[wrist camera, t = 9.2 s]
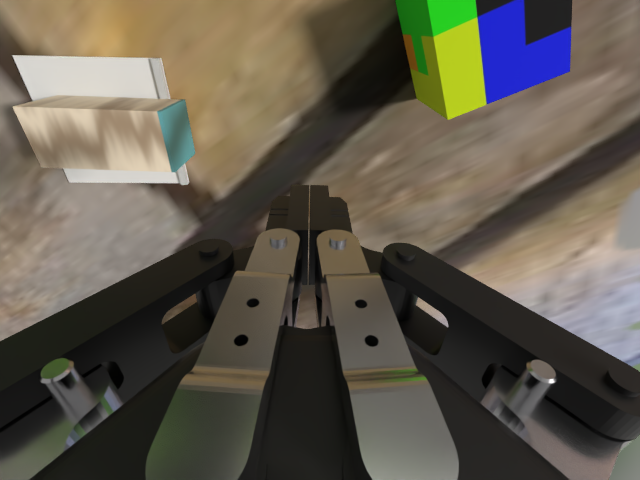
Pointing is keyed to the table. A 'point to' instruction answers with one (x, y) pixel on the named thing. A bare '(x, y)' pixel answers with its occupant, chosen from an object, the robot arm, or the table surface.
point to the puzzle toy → (482, 48)
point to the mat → (100, 81)
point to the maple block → (108, 132)
